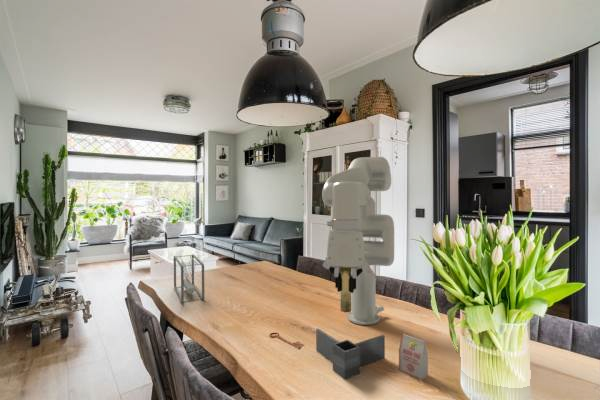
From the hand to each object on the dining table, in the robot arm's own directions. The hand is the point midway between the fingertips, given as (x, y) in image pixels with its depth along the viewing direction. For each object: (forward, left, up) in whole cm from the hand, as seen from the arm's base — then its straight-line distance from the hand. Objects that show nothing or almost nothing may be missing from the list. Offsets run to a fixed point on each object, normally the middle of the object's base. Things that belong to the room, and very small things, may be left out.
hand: (345, 290), depth 89 cm
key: (+5, -26, -24) cm, 36 cm away
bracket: (-6, -6, -23) cm, 25 cm away
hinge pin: (0, 0, -6) cm, 6 cm away
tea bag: (-16, +10, -24) cm, 30 cm away
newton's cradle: (+23, -98, -24) cm, 103 cm away
